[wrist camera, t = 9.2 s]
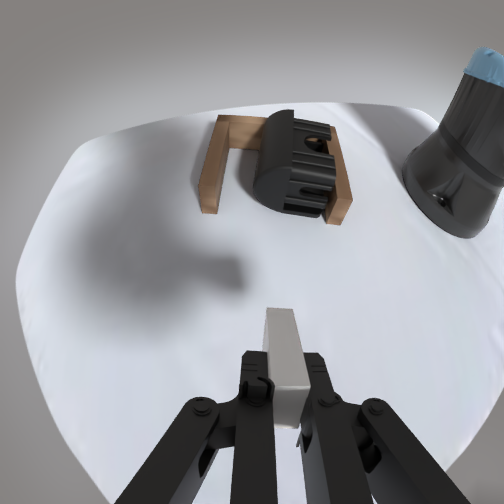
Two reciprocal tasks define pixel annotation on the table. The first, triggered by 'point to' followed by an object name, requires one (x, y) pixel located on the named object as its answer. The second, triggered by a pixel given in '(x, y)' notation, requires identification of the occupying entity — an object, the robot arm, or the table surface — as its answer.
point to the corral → (249, 137)
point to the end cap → (294, 166)
